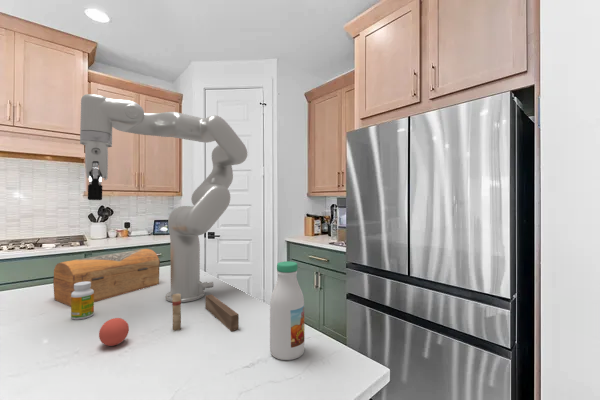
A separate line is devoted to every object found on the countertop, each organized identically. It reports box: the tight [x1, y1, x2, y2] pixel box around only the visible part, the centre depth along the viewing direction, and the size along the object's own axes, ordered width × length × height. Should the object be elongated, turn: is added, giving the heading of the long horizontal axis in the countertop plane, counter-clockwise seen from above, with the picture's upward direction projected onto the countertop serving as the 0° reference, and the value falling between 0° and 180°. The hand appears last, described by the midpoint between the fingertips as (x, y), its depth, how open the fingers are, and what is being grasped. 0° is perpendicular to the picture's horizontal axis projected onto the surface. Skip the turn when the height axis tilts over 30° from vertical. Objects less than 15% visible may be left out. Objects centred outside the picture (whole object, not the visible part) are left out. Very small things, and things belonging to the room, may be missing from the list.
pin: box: [171, 294, 182, 331], centre depth 78 cm, size 2×2×9 cm
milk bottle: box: [269, 261, 306, 361], centre depth 67 cm, size 8×8×20 cm
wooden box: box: [52, 248, 161, 307], centre depth 110 cm, size 30×16×14 cm, turn 149°
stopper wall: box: [205, 294, 240, 332], centre depth 85 cm, size 2×20×4 cm, turn 36°
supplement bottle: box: [70, 281, 95, 321], centre depth 87 cm, size 5×5×10 cm
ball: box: [98, 317, 130, 347], centre depth 70 cm, size 6×6×6 cm
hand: (95, 199), depth 85 cm, fingers open, 9 cm apart
